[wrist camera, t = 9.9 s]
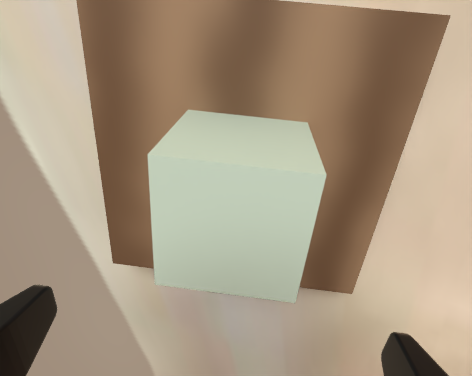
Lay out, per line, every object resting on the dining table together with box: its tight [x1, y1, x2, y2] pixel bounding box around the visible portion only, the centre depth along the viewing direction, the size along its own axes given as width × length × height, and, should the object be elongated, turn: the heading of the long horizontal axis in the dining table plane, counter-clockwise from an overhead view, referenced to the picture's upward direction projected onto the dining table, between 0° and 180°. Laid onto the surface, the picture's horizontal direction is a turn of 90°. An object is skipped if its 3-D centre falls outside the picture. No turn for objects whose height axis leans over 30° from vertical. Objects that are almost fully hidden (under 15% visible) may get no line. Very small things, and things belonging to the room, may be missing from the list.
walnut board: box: [77, 0, 450, 294], centre depth 19 cm, size 16×16×3 cm
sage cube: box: [148, 110, 326, 303], centre depth 15 cm, size 6×6×6 cm
